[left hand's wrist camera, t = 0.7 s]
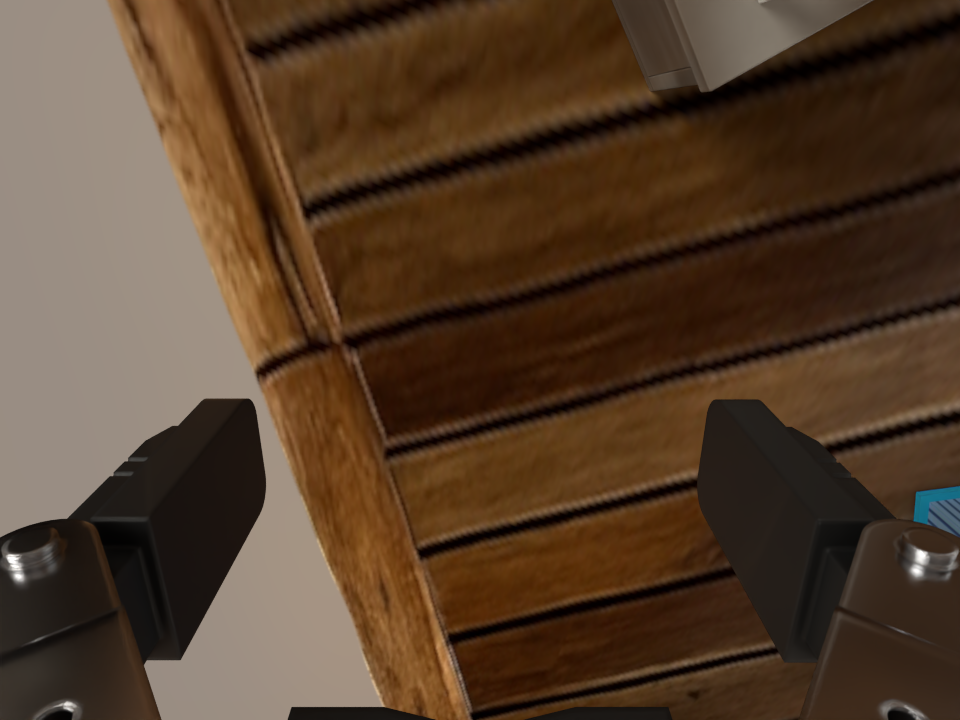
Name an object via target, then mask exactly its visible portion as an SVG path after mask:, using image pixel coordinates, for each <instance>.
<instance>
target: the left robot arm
mask: <svg viewBox="0 0 960 720" xmlns="http://www.w3.org/2000/svg"><path fill="white" fill-rule="evenodd" d="M697 490H698V499H699V504H700V508H701V511H702V513H703V515H704V517H705V519H706V521H707V522H708V524H709V526H710V528H711V530H712V531H713V533H714V535H715V537H716V539H717V541H718V542H719V544H720V546H721V548H722V550H723V552H724V553H725V555H726V557H727V559H728V561H729V562H730V564H731V566H732V568H733V570H734V572H735V573H736V575H737V577H738V579H739V581H740V582H741V584H742V586H743V588H744V590H745V592H746V593H747V595H748V597H749V599H750V601H751V603H752V604H753V606H754V608H755V610H756V612H757V613H758V615H759V617H760V619H761V621H762V623H763V624H764V626H765V628H766V630H767V632H768V633H769V635H770V637H771V639H772V641H773V643H774V644H775V646H776V648H777V650H778V652H779V653H780V655H781V657H782V659H783V661H784V662H817V665H816V668H815V671H814V674H813V677H812V680H811V683H810V686H809V689H808V692H807V695H806V699H805V702H804V705H803V708H802V711H801V714H800V717H799V720H960V537H958V536H956V535H954V534H952V533H949V532H947V531H945V530H942V529H940V528H937V527H934V526H931V525H928V524H924V523H920V522H915V521H910V520H903V519H896V518H895V517H894V516H893V515H892V514H891V513H890V512H889V511H888V510H887V509H886V508H885V507H884V506H883V505H882V504H881V503H880V502H879V501H878V500H877V499H876V498H875V497H874V496H873V495H872V494H871V493H870V492H869V491H868V490H867V489H866V488H865V487H864V486H863V485H862V484H861V483H860V482H859V481H858V480H857V479H856V478H851V473H850V472H849V471H848V470H847V469H846V468H845V467H844V466H843V465H842V464H841V463H836V459H835V458H834V457H833V456H832V455H831V454H830V453H829V452H828V451H827V450H826V449H825V448H824V447H823V446H822V445H821V444H820V443H819V442H818V441H816V440H814V439H812V438H811V437H809V436H807V435H805V434H803V433H801V432H800V431H798V430H796V429H794V428H792V427H786V426H785V425H784V424H783V423H782V422H781V421H780V420H779V419H778V418H777V417H776V416H775V415H774V414H773V413H772V412H771V411H770V410H769V409H768V408H767V407H766V406H765V405H764V403H763V402H761V401H760V400H713V401H712V402H711V404H710V406H709V408H708V412H707V418H706V425H705V431H704V438H703V445H702V452H701V458H700V465H699V472H698V480H697ZM265 492H266V476H265V469H264V462H263V455H262V448H261V442H260V435H259V428H258V421H257V414H256V410H255V406H254V404H253V402H252V401H251V400H250V399H204V400H203V401H201V402H200V403H199V405H198V406H197V407H196V408H195V409H194V410H193V411H192V412H191V413H190V414H189V415H188V416H187V417H186V418H185V419H184V420H183V421H182V422H181V423H180V425H179V426H172V427H170V428H168V429H166V430H164V431H162V432H161V433H159V434H157V435H155V436H153V437H152V438H150V439H148V440H146V441H145V442H144V443H143V444H142V445H141V446H140V447H139V448H138V449H137V450H136V451H135V452H134V453H133V454H132V455H131V456H130V457H129V458H128V462H124V463H123V464H122V465H121V466H120V467H119V468H118V469H117V470H116V471H115V472H114V476H110V477H109V478H108V479H107V480H106V481H105V482H104V483H103V484H102V485H101V486H100V487H99V488H98V489H97V490H96V491H95V492H94V493H93V494H92V495H91V496H90V497H89V498H88V499H87V500H86V501H85V502H84V503H83V504H81V506H79V507H78V508H77V510H76V511H74V513H72V514H71V515H70V516H69V517H68V518H67V519H57V520H50V521H45V522H40V523H36V524H32V525H29V526H26V527H23V528H20V529H18V530H15V531H13V532H11V533H8V534H6V535H4V536H2V537H0V720H161V717H160V714H159V711H158V708H157V705H156V702H155V699H154V695H153V692H152V689H151V686H150V683H149V680H148V677H147V674H146V671H145V668H144V664H145V662H146V661H147V660H181V658H182V656H183V655H184V653H185V651H186V649H187V647H188V645H189V644H190V642H191V640H192V638H193V636H194V634H195V633H196V631H197V629H198V627H199V625H200V623H201V621H202V620H203V618H204V616H205V614H206V612H207V610H208V609H209V607H210V605H211V603H212V601H213V599H214V598H215V596H216V594H217V592H218V590H219V588H220V586H221V585H222V583H223V581H224V579H225V577H226V575H227V574H228V572H229V570H230V568H231V566H232V564H233V562H234V561H235V559H236V557H237V555H238V553H239V551H240V550H241V548H242V546H243V544H244V542H245V540H246V538H247V537H248V535H249V533H250V531H251V529H252V527H253V526H254V524H255V522H256V520H257V518H258V516H259V515H260V512H261V510H262V508H263V504H264V500H265ZM288 720H435V719H431V718H427V717H422V716H418V715H414V714H410V713H406V712H402V711H398V710H394V709H390V708H386V707H292V708H291V711H290V714H289V717H288ZM525 720H672V717H671V714H670V711H669V708H668V707H574V708H570V709H566V710H562V711H558V712H554V713H550V714H546V715H542V716H538V717H533V718H529V719H525Z"/></svg>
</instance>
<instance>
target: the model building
mask: <svg viewBox="0 0 960 720" xmlns="http://www.w3.org/2000/svg"><path fill="white" fill-rule="evenodd" d="M914 521H915V522H920V523H924V524H928V525H931V526H934V527H937V528H940V529H942V530H945V531H947V532H949V533H952V534H954V535H956V536H958V537H960V486H957V487H950V488H942V489H935V490H927V491H920V492H916V501H915V511H914Z"/></svg>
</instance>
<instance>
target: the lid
mask: <svg viewBox="0 0 960 720" xmlns="http://www.w3.org/2000/svg"><path fill="white" fill-rule="evenodd" d="M872 1H873V0H665V3H666V5H667V8H668V10H669V13H670V15H671V18H672V21H673V23H674V26H675V28H676V31H677V33H678V36H679V38H680V41H681V43H682V46H683V48H684V51H685V53H686V56H687V58H688V61H689V64H690V66H691V69H692V71H693V74H694V76H695V79H696V81H697V84H698V86H699V89H700V91H701V92H709V91H713V90H715V89H716V88H718V87H720V86H722V85H724V84H725V83H727V82H729V81H731V80H732V79H734V78H736V77H738V76H740V75H741V74H743V73H745V72H747V71H749V70H750V69H752V68H754V67H756V66H757V65H759V64H761V63H763V62H765V61H766V60H768V59H770V58H772V57H774V56H775V55H777V54H779V53H781V52H782V51H784V50H786V49H788V48H790V47H791V46H793V45H795V44H797V43H799V42H800V41H802V40H804V39H806V38H807V37H809V36H811V35H813V34H815V33H816V32H818V31H820V30H822V29H823V28H825V27H827V26H829V25H831V24H832V23H834V22H836V21H838V20H840V19H841V18H843V17H845V16H847V15H848V14H850V13H852V12H854V11H856V10H857V9H859V8H861V7H863V6H865V5H866V4H868V3H870V2H872Z"/></svg>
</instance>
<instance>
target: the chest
mask: <svg viewBox="0 0 960 720" xmlns="http://www.w3.org/2000/svg"><path fill="white" fill-rule="evenodd" d="M612 2H613V4H614V6H615V9H616V11H617V14H618V16H619V18H620V21H621V23H622V25H623V28H624V30H625V33H626V35H627V37H628V40H629V42H630V44H631V47H632V49H633V52H634V54H635V56H636V59H637V61H638V63H639V66H640V68H641V71H642V73H643V75H644V78H645V80H646V82H647V85H648V87H649V90H650V91H659V90H666V89H673V88H680V87H687V86H694V85H698V84H697V81H696V79H695V76H694V74H693V71H692V69H691V66H690V64H689V61H688V58H687V56H686V53H685V51H684V48H683V46H682V43H681V41H680V38H679V36H678V33H677V31H676V28H675V26H674V23H673V21H672V18H671V15H670V13H669V10H668V8H667V5H666V3H665V0H612Z"/></svg>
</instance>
